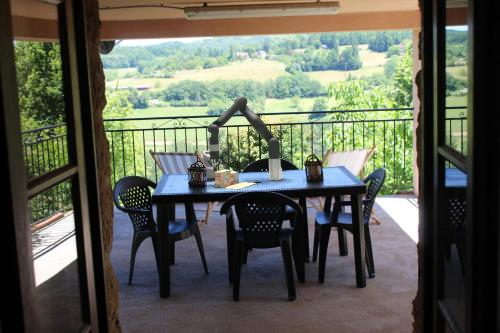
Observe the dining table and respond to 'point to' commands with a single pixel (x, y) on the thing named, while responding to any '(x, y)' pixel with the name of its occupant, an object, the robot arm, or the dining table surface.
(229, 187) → the oak board
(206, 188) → the dining table surface
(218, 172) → the stack of blocks
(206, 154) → the juicer
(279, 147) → the robot arm
